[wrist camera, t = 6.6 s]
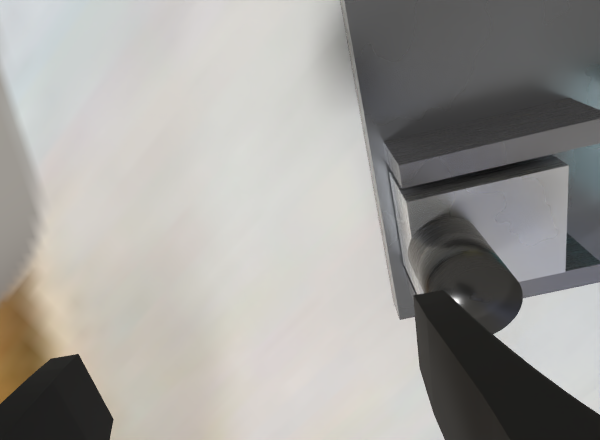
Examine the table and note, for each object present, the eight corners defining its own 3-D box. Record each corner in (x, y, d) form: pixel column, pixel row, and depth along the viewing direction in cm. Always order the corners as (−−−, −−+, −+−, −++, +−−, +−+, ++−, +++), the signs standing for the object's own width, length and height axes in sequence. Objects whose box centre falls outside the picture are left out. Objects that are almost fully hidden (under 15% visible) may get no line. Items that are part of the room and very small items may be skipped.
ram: (529, 235, 18) (621, 330, 13) (398, 263, 19) (441, 366, 14) (528, 139, 17) (635, 208, 12) (383, 173, 17) (426, 253, 12)
